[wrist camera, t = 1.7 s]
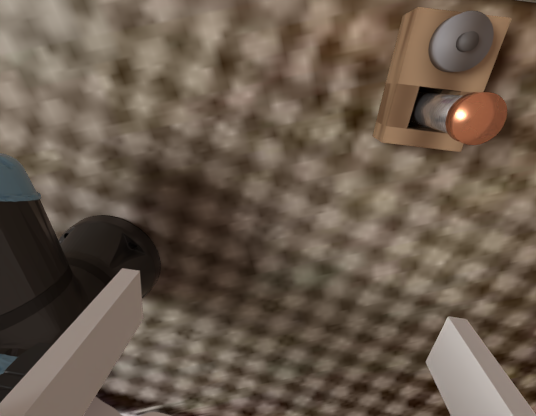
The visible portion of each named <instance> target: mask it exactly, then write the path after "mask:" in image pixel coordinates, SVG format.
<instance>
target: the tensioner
mask: <svg viewBox="0 0 536 416" xmlns="http://www.w3.org/2000/svg"><path fill="white" fill-rule="evenodd" d="M511 19H512V18H506V17H498V16H489V15H485V14H483V13H481V12H478V11H467V12H456V11H447V10H439V9H430V8H422V7H418V8H416V9H414V10H412V11H410V12H409V13H407V14H405V15H403V17H402V21H401V25H400V29H399V33H398V37H397V41H396V45H395V49H394V53H393V57H392V61H391V65H390V69H389V73H388V77H387V81H386V85H385V89H384V93H383V97H382V101H381V105H380V109H379V113H378V116H377V120H376V124H375V128H374V132H373V137H374V138H376V139H378V140H379V141H381V142H383V143H392V144H400V145H408V146H416V147H425V148H433V149H441V150H449V151H458V152H461V150H462V147H463V145H464V143H461V142H458V141H456V140H454V139H452V138H451V137H450V136H449V134H448V133H446V132H443V131H440V130H437V129H434V128H424V127H416V126H408V124H409V120H410V117H411V114H412V110H413V107H414V103H415V100H416V97H417V93H418V90H419V87H420V88H429V89H437V90H442V93H441V94H448V95H460V96H464V95H466V94H469V93H472V92H484V90H485V87H486V84H487V82H488V79H489V76H490V74H491V71H492V69H493V66H494V63H495V61H496V58H497V55H498V53H499V50H500V48H501V45H502V42H503V40H504V37H505V34H506V32H507V29H508V27H509V24H510V21H511Z"/></svg>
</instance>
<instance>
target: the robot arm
mask: <svg viewBox="0 0 536 416" xmlns="http://www.w3.org/2000/svg"><path fill="white" fill-rule="evenodd" d="M40 199H41V195H40V193H38V192H36V190H35V188H34V186H33V185H32V183H31V181H30V179H29V177H28V175H27V173H26V171H25V169H24V167H23V166H22V165H21V163H20V162H19V161H17V160H16V159H15V158H13V157H11V156H9V155H6V154H2V153H0V416H83V415H84V413H85V412H86V410H87V409H88V407H89V405H90V404H91V402H92V400H93V399H94V397H95V396H96V394H97V393H98V391H99V389H100V388H101V386H102V385H103V383H104V381H105V380H106V378H107V377H108V375H109V373H110V372H111V370H112V369H113V367H114V365H115V364H116V362H117V361H118V359H119V357H120V356H121V354H122V353H123V351H124V349H125V348H126V346H127V345H128V343H129V341H130V340H131V338H132V337H133V335H134V333H135V332H136V330H137V329H138V327H139V325H140V324H141V322H142V321H143V308H142V298H143V297H144V296H146V295H147V294H148V292H149V291H150V290H151V289H152V287H153V285H154V284H155V282H156V281H157V279H158V277H159V273H160V258H159V255H158V252H157V250H156V248H155V246H154V244H153V243H152V241H151V240H150V239H149V238H148V236H147V235H146V234H145V233H144V232H142V231H141V230H140V229H139V228H137V227H136V226H134V225H133V224H131V223H129V222H127V221H125V220H122V219H119V218H116V217H111V216H92V217H88V218H85V219H83V220H81V221H79V222H78V223H76V224H75V225H73V226H72V227H70V228H69V229H68V230H67V231H66V232H65V233H64V234H63V235H62V236H61V238H60V239H59V241H58V239H57V236H56V234H55V232H54V230H53V228H52V225H51V223H50V221H49V219H48V216H47V214H46V212H45V210H44V208H43V205H42V203H41V201H40ZM426 364H427V366H428V368H429V370H430V372H431V375H432V377H433V379H434V381H435V383H436V385H437V387H438V389H439V391H440V394H441V396H442V398H443V400H444V402H445V404H446V406H447V408H448V411H449V413H450V415H451V416H536V414H535V413H534V411H533V410H532V408H531V407H530V406H529V404H528V403H527V402H526V400H525V399H524V397H523V396H522V395H521V393H520V392H519V391H518V389H517V388H516V386H515V385H514V384H513V382H512V381H511V380H510V378H509V377H508V375H507V374H506V373H505V371H504V370H503V369H502V367H501V366H500V364H499V363H498V362H497V360H496V359H495V358H494V356H493V355H492V354H491V352H490V351H489V349H488V348H487V347H486V345H485V344H484V343H483V341H482V340H481V338H480V337H479V336H478V334H477V333H476V332H475V330H474V329H473V327H472V326H471V325H470V323H469V322H468V321H467V319H462V318H455V317H449V316H448V317H447V320H446V322H445V324H444V326H443V328H442V330H441V332H440V334H439V336H438V338H437V340H436V342H435V344H434V346H433V348H432V350H431V352H430V354H429V356H428V358H427V360H426Z"/></svg>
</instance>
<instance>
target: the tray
mask: <svg viewBox="0 0 536 416" xmlns="http://www.w3.org/2000/svg"><path fill="white" fill-rule="evenodd" d="M517 1H526V2H534V3H536V0H517Z"/></svg>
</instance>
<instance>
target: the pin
mask: <svg viewBox="0 0 536 416" xmlns="http://www.w3.org/2000/svg"><path fill="white" fill-rule="evenodd" d="M506 117H507V106H506V103H505V101H504V100H503V99H502V98H501V97H500V96H499V95H497V94H495V93H490V92H472V93H469V94H466V95H464V96H460V95H448V94H436V93H423V92H419V93H417V97H416V100H415V103H414V107H413V110H412V114H411V117H410V120H409V121H412V122H415V123H418V124H421V125H424V126H427V127H430V128H434V129H437V130H440V131H443V132H446V133H448V134H449V136H450V137H451V138H452V139H454V140H456V141H458V142H461V143H464V144H468V145H478V144H482V143H485V142H487V141H489V140H490V139H492V138H493V137H494V136H496V135H497V134H498V133H499V131H500V130H501V129H502V127H503V125H504V123H505V121H506Z"/></svg>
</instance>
